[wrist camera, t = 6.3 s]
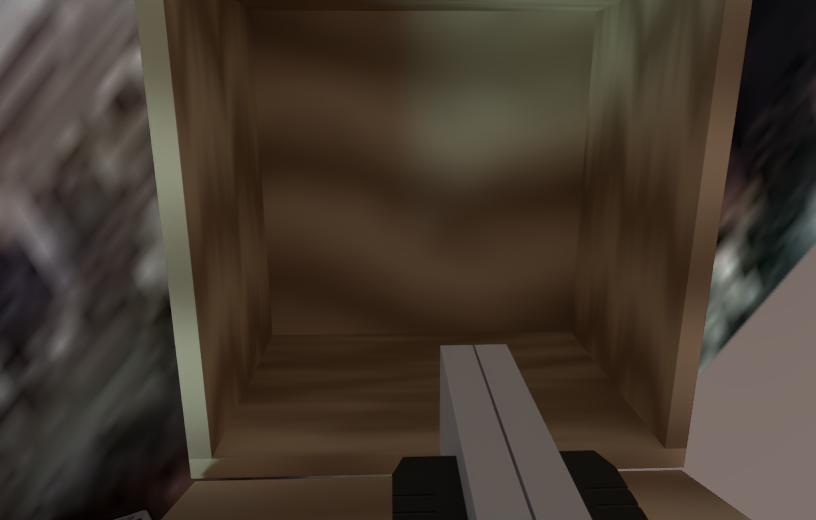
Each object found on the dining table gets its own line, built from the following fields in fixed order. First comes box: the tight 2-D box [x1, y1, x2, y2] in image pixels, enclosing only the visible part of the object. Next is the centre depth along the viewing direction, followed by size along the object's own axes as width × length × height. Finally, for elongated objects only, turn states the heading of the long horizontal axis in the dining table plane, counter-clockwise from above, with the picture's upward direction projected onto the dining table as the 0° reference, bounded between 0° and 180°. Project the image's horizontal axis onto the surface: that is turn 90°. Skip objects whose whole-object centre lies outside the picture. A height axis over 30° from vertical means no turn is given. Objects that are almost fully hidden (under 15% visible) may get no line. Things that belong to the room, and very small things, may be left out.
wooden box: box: [135, 0, 752, 479], centre depth 24 cm, size 18×18×12 cm
